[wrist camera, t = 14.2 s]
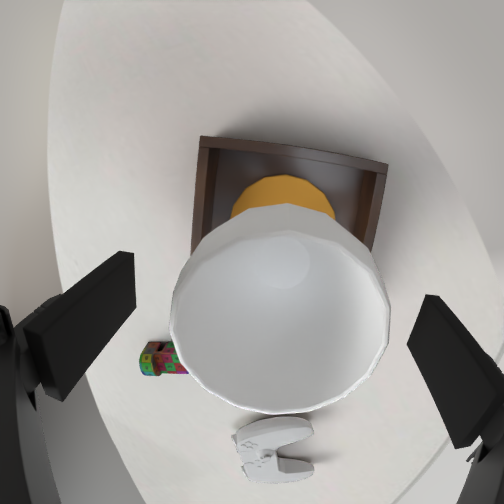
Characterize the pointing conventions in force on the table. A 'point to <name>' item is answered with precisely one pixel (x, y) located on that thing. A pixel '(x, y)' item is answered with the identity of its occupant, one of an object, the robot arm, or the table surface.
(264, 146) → the holder
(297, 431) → the game controller
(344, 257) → the cup
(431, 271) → the table surface
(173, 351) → the block
